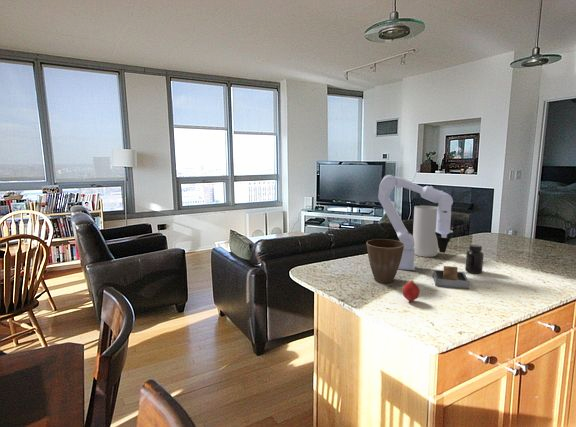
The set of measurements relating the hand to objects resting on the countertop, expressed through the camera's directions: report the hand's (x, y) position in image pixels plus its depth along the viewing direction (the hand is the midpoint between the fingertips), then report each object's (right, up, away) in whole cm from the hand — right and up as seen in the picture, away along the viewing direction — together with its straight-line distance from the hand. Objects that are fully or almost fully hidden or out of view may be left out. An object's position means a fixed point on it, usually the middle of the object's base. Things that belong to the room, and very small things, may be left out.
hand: (441, 250), depth 159 cm
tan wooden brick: (-3, -11, -14) cm, 18 cm away
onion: (-25, -15, -33) cm, 44 cm away
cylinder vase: (+3, -5, +28) cm, 29 cm away
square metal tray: (-3, -12, -14) cm, 19 cm away
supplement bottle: (+14, -10, -1) cm, 17 cm away
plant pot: (-29, -12, -11) cm, 33 cm away
